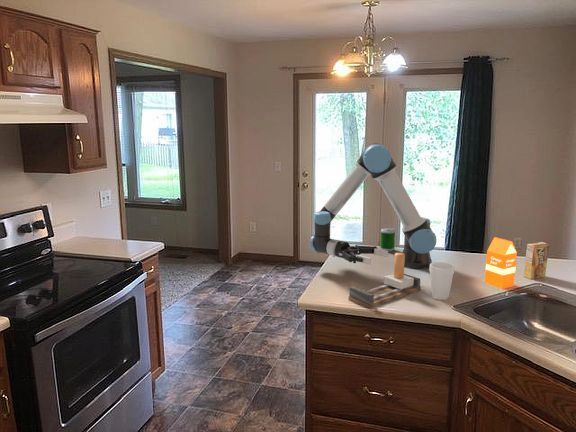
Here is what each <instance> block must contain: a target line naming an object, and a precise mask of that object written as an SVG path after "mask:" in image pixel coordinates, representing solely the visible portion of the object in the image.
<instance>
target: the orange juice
mask: <svg viewBox="0 0 576 432" xmlns="http://www.w3.org/2000/svg"><path fill="white" fill-rule="evenodd" d="M517 255H518V252H517V249H516V248H515V245H514V243H513V241H512V240H508V239H505V238H501V237H496V236H493V239H492V241H491V243H490V245H489V246H488V249H487V251H486V259H485V260H486V261H485V262H486V263H485V275H484V283H485V284H487V285H490V286H492V287H496V288H499V289H502V290H503V289H507V288H510V287H514V286H515V276H516V268H517V267H516V266H517V264H516V263H517Z"/></svg>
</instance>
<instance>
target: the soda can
mask: <svg viewBox="0 0 576 432" xmlns="http://www.w3.org/2000/svg"><path fill="white" fill-rule="evenodd" d="M395 244H396V230H395V229H394V228H393V227H383V228H382V229H380V244H379V245H380V246H379V247H380V248H379V249H381V250H386V251H388V253H389V252H393V251H394V250H395V246H396V245H395Z"/></svg>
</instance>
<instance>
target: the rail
mask: <svg viewBox="0 0 576 432" xmlns="http://www.w3.org/2000/svg"><path fill="white" fill-rule="evenodd" d="M404 275H406V276H409V277H412V278H414V284H413V285H412V286H409V287H406V288H403V289H398V288H395V287H393V286H390V285H387V284H382V285H379V286H376V287H373V288H369V289H366V290H363V289H360V288H358V287H356V286H350V287H349V296H348V301H350V302H352V303H354V304H357V305H360V306H363V307H364V308H367V309H371V308H375V307H377V306H380V305H382V304H385V303H388V302H390V301H394V300H396V299H400V298H403V297H405V296H407V295H410V294H413V293H416V292H419V291H421V289H422V288H421V278H419V277H416V276H413V275H410V274H406V273H404Z"/></svg>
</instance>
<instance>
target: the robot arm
mask: <svg viewBox="0 0 576 432" xmlns="http://www.w3.org/2000/svg"><path fill="white" fill-rule="evenodd" d="M396 170H397V165H396V163H395V161H394V159H393V157H392V155H391V152H390V150H389V149H388V148H387V147H386V146H385V145H383V144H382V143H377V142H376V143H371V144H370V143H369V144H368V145H367V146H366V147H365V148H364V149H363V152H362V153H361V155H360V156H359V158H358V159H357V161H356V162H355V167H354V168H353V169H352V170H351V171H350V173H349V174H348V176H347V177H346V178H345V179H344V181H343V182H342V183H341V184H340V185H339V187H338V188H337V189H336V190H335V192H334V193H333V194H332V195H331V196H330V198H329V199H328V200H327V201H326V203H325V204H324V206H322V208H321V209H319V211H317V212H315V213H314V217H313V224H314V225H313V226H314V233H313V236H311V237H310V238H309V242H308V246H309V249H310V250H311V251H313V252H316V253H318V254H324V255H328V256H332V257H333V258H335V257H336V258H341V259H344V260H345V261H347V262H349V263H353V264H356V263H360V264H361V263H362V264H365V265H372V257H368V256H363V255H373V254H374V256H379V257H382V258H388V257H389V252H388V251H386V250H382V249H381V248H378V247H377V246H376V245H375V246H370V245H368V246H367V245H358V244H355V245H350V243H349V242H347V241H344V240H339V239H334V238H331V225H332V224H331V223H332V221H333V220H334V219H335V217H336V216H337V215H338V214H339V212H341V211H342V209H343V207H344V206H345V205H346V204H347V203H348V202H349V200H350V199H351V198H352V197H353V196H354V194H355V193H356V192H357V190H358V189H359V188H360V186H362V184H364V182H365V181H366V179H368V177H369V176H371V178H372V179H373V180H376V181H377V182H378V183H379V186H380V187H381V189H382V190H383V192H384V194H385V196H386V197H387V199H388V201H389V203H390V204H391V207H392V208H393V209H394V212H395V213H396V215H397V217H398V219H399V221H400V222H401V224H402V229H401V232H402V233H403V235H404V242H403V244H404V245H403V250H402V252H401V253H404V254H405V261H404V268H405V267H406V268H410V269H427V268H428V269H429V268H430V264H431V263H433V260H432V256H431V253H430V252H431V251H433V250H434V248H435V247H436V245H437V236H436V233H435V232H433V230H432V228H431V220H430V219H429V218H426V217H423V216H421V215H420V214H419V211H418V210H417V208H416V205H414V203H413V201H412V199H411V196H410V195H409V193H408V192H407V189H406V188H405V186H404V184H403V182H402V181H401V179H400V177H399V175H398V173H397V171H396Z"/></svg>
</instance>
